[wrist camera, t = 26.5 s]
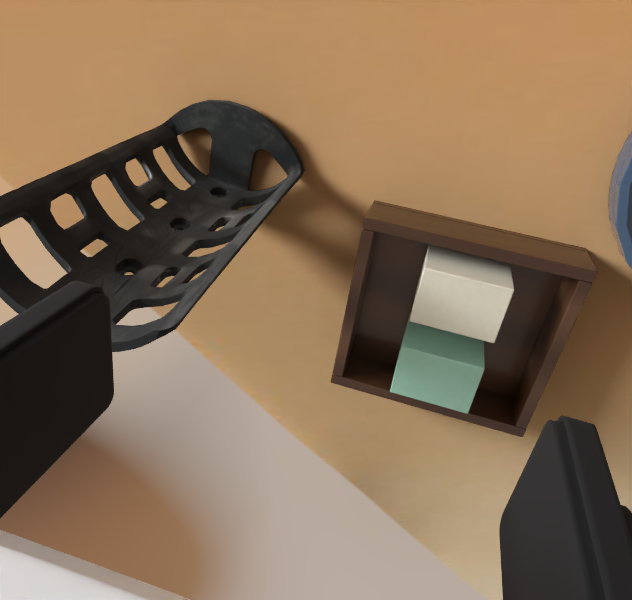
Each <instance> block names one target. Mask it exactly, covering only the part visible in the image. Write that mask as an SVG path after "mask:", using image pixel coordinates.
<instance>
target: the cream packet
mask: <svg viewBox="0 0 632 600" xmlns="http://www.w3.org/2000/svg"><path fill="white" fill-rule="evenodd" d="M513 292H514V285H513V279H512V273H511V267H510V263H506V262H502V261H497V260H493V259H489V258H485V257H481V256H476V255H472V254H468V253H464V252H459V251H455V250H451V249H447V248H443V247H438V246H434V245H430V244H429V245H428V249H427V252H426V256H425V260H424V263H423V267H422V271H421V274H420V278H419V282H418V285H417V289H416V293H415V298H414V303H413V307H412V312H411V316H410V321H411V322H414V323H418V324H422V325H426V326H430V327H433V328H437V329H441V330H445V331H449V332H453V333H456V334H460V335H464V336H468V337H472V338H476V339H479V340H483V341H487V342H491V343H495V340H496V337H497V335H498V332H499V330H500V327H501V324H502V322H503V319H504V316H505V314H506V311H507V308H508V306H509V303H510V300H511V298H512V295H513Z"/></svg>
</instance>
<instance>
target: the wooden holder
mask: <svg viewBox="0 0 632 600" xmlns="http://www.w3.org/2000/svg"><path fill="white" fill-rule="evenodd" d="M429 244H430V245H434V246H438V247H443V248H447V249H451V250H455V251H459V252H464V253H468V254H472V255H476V256H481V257H485V258H489V259H493V260H497V261H502V262H506V263H510V267H511V273H512V279H513V285H514V292H513V295H512V298H511V300H510V303H509V306H508V308H507V311H506V314H505V316H504V319H503V322H502V324H501V327H500V330H499V332H498V335H497V337H496V340H495V343H491V342H487V341H484V362H485V369H484V372H483V375H482V377H481V380H480V383H479V385H478V388H477V391H476V393H475V396H474V399H473V401H472V404H471V407H470V409H469V412H468V414H466V413H463V412H459V411H456V410H452V409H449V408H445V407H442V406H438V405H435V404H431V403H428V402H424V401H421V400H417V399H414V398H410V397H407V396H403V395H400V394H396V393H392V392H390V389H391V385H392V381H393V376H394V372H395V367H396V363H397V359H398V355H399V351H400V347H401V344H402V340H403V336H404V333H405V329H406V325H407V322H408V318H409V314H410V313H411V312H412V307H413V303H414V298H415V293H416V289H417V285H418V282H419V278H420V274H421V271H422V267H423V263H424V260H425V256H426V252H427V249H428V245H429ZM596 275H597V270H596V268H595V266H594V264H593V262H592V260H591V258H590V257H589V255H588V253H587V251H586V249H585V248H581V247H577V246H572V245H568V244H564V243H559V242H555V241H550V240H546V239H542V238H537V237H533V236H528V235H524V234H520V233H515V232H511V231H507V230H502V229H498V228H493V227H489V226H485V225H480V224H476V223H471V222H467V221H463V220H458V219H454V218H450V217H445V216H441V215H436V214H432V213H428V212H423V211H419V210H414V209H410V208H406V207H401V206H397V205H392V204H388V203H384V202H379V201H374V203H373V204H372V206H371V208H370V209H369V211H368V213H367V215H366V216H365V218H364V223H363V229H362V233H361V238H360V242H359V247H358V252H357V257H356V262H355V267H354V272H353V277H352V281H351V286H350V291H349V296H348V301H347V306H346V311H345V316H344V320H343V325H342V330H341V335H340V340H339V345H338V350H337V354H336V359H335V364H334V369H333V374H332V379H331V383H335V384H338V385H341V386H345V387H348V388H352V389H355V390H359V391H362V392H366V393H369V394H373V395H376V396H380V397H383V398H387V399H390V400H394V401H397V402H401V403H404V404H408V405H411V406H415V407H418V408H422V409H425V410H429V411H432V412H436V413H439V414H443V415H446V416H450V417H453V418H456V419H460V420H463V421H467V422H470V423H474V424H477V425H481V426H484V427H488V428H491V429H495V430H498V431H502V432H505V433H509V434H512V435H516V436H519V437H523V435H524V433H525V431H526V428H527V426H528V424H529V422H530V420H531V417H532V415H533V413H534V411H535V409H536V406H537V404H538V402H539V400H540V398H541V395H542V393H543V391H544V389H545V387H546V384H547V382H548V380H549V378H550V376H551V373H552V371H553V369H554V367H555V365H556V362H557V360H558V358H559V356H560V354H561V351H562V349H563V347H564V345H565V343H566V340H567V338H568V336H569V334H570V332H571V329H572V327H573V325H574V323H575V321H576V318H577V316H578V314H579V312H580V310H581V307H582V305H583V303H584V301H585V299H586V296H587V294H588V292H589V290H590V288H591V286H592V283H593V281H594V279H595V277H596Z"/></svg>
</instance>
